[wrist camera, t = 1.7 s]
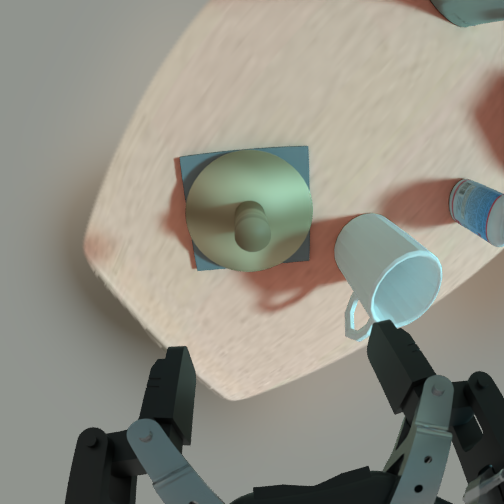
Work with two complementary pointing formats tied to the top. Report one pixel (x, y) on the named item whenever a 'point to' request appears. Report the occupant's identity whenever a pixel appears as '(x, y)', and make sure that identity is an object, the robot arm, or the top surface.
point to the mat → (197, 163)
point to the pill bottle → (479, 210)
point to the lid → (249, 210)
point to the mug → (385, 273)
